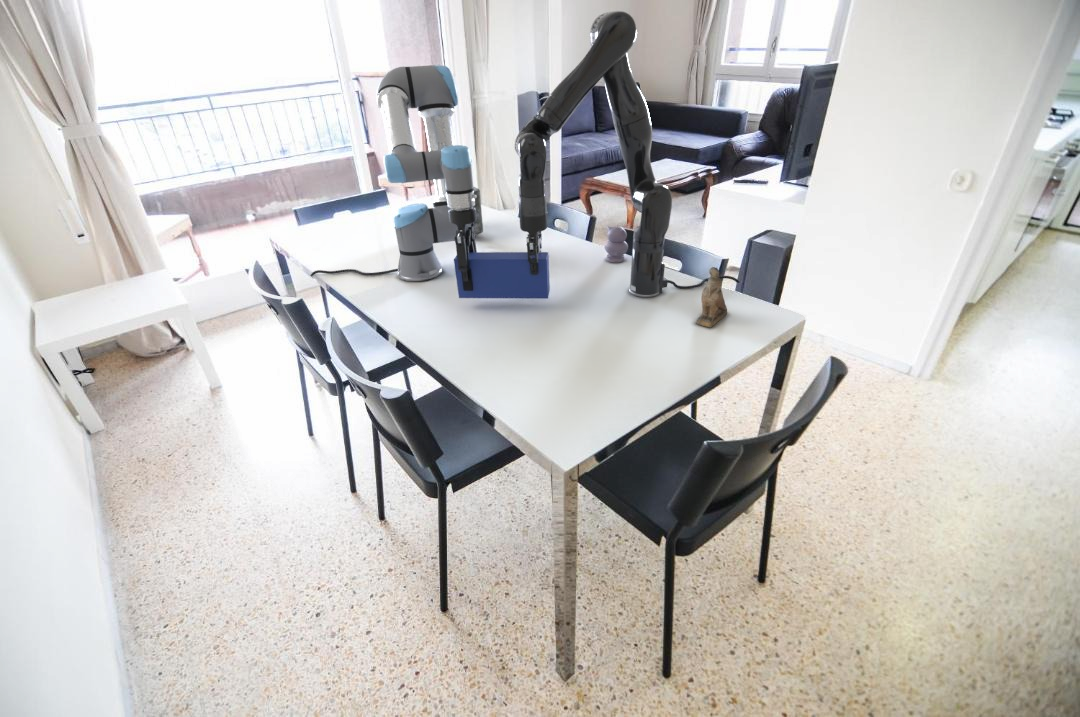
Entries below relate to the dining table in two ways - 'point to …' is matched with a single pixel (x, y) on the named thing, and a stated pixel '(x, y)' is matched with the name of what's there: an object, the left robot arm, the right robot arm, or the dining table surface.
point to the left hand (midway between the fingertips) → (470, 285)
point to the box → (505, 276)
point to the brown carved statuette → (712, 301)
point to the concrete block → (478, 213)
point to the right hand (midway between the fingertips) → (535, 270)
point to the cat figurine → (616, 244)
